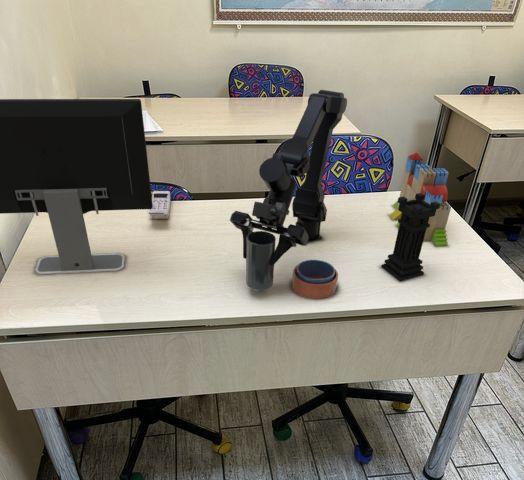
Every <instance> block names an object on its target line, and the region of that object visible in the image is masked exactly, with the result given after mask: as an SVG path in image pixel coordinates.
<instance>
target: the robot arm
mask: <svg viewBox="0 0 524 480" xmlns="http://www.w3.org/2000/svg"><path fill="white" fill-rule="evenodd" d="M347 106H348V99H347V97H345V93H343V92H339V91H334V90H326V89H319V91H318V92H317V93H316V92H312V93H310V94H309V96H308V99H307V106H306V108H305V109H304V111H303V114H302V116H301V119H300V121H299V123H298V125H297V127H296V130H294V134H293V135H292V137H291V138H290V139H288V140H287V141H285V142H284V143H283V144H282V146H281V148H280V149H279V150H278V152H277V153H276V152H275V153H273V154H272V157H270V158H267V159H265V160H264V161H263V162H262V163H261V164H260V166H259V170H258V172H259V176H260V178H261V180H262V181H263V183H264V184H265V186H266V187H267V190H269V191H268V195H267V197H264V199H263V201H262V202H260V201H254V202H253V207H252V213H251V215H250V214H249V213H247V212H243V211H239V210H234V211H233V212H232V213H231V215H230V218H229V221H230V223H231V224H232V225H233V226H234V227H235V228H236V229H238V230H240V232H241V233H242V242H243V243H242V258H243V259H245V260H246V237H247V235H248V234H250V233H252V232H254V229H256V230H259V231H265V232H269V233H271V234H276V235H279V237H278V243H277V244H276V246H275V252H274V255H273V257H272V260H271V263H270V265H271V266H273V265H274V266H275V265H276V264H277V262H278V261H279V260H280V259H281V258H282V257H283V256H284V255H285V254H286V253H287V252H288V251H289V250H291V249H292V247H294V248H297V245H300V246H304V247H307V244H308V243H310V242H314V241H320V240H322V239H323V236H321V235H320V233H321V232H320V231H321V223H323V222H326V220H327V215H328V208H327V206H326V204H325V202H324V201H325V192H324V190H323V187H322V183H323V178H324V175H325V169H326V166H327V165H326V164H327V160H328V155H329V150H330V146H331V141H332V136H333V131H334V129H335V128H336V127H337V125H338V124H340V122H341V121H342V119H343V115H344V113H345V112H346V110H347ZM304 176H305V179H304V182H303V184H301V185H300V186H299V187H298V186H297V183H296V180H295V179H294V178H293V177H295V178H302V177H304ZM294 195H295V196H294ZM291 205H292V208H291V209H292V217H293V218H296V219H297V220H296V221H295V224H292V223H289V224H288V226H287V227H285V226H284V224H285V221H286V218H287V216H289V214H290V206H291ZM251 216H253V217H255V218H256V219H253V218H252V217H251Z"/></svg>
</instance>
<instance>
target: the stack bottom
mask: <svg viewBox="0 0 524 480" xmlns="http://www.w3.org/2000/svg"><path fill="white" fill-rule="evenodd" d="M299 264H300V263H298V264H297V265H296V266H294V268H293V270H292V280H291V281H292V282H291V287H292V290H293V291H294V292H295V293H296V294H298V295H300V296H302V297H303V298H308V299H313V300H319V299H326V298H329V297H331V296H332V295H334V294H335V293H336V290H337V287H338V279H339V273H338V271H337V269H336V268H335V267H334V269H335V277H334V280H333V281H331V282H329V283H326V284H310V283H307V282H304V281H302V280H300V279H299V278H298V277H297V276H296V272H297V266H298V265H299ZM307 276H309V275H307ZM314 277H315V275H314ZM316 277H318V278H316ZM316 277H315V278H316V279H319V277H320V279H321V278H322V277H321V276H316ZM309 278H311V277H309ZM315 278H314V279H315ZM312 279H313V277H312ZM322 279H324V278H322Z"/></svg>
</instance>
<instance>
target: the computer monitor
mask: <svg viewBox="0 0 524 480" xmlns="http://www.w3.org/2000/svg"><path fill="white" fill-rule="evenodd" d="M143 115H144V114H143V107H142V100H141V99H140V98H0V215H1V214H34V213H35V216H36V217H39V213H47V215H48V219H49V223H50V227H51V231H52V234H53V238H54V239H53V240H54V242H55V246H56V250H57V255H47V256H42V257H40V258H39V259H38V262H37V264H36V266H35V269H34V270H35V273H36V274H39V275H54V274H55V275H56V274H76V273H77V274H78V273H79V274H80V273H97V272H99V273H101V272H118V271H121V270H122V269H123V268H124V267H125V259H126V258H125V255H124V254H122V253H98V254H97V253H96V254H94V253H93V254H92V250H91V247H90V242H89V237H88V231H87V226H86V223H85V217H84V214H87V213H89V212H95V214H96V215H99V212H102V211H103V212H104V211H133V210H134V211H135V210H150V209H152V207H153V204H152V186H151V178H150V169H149V160H148V151H147V141H146V132H145V125H144V116H143Z"/></svg>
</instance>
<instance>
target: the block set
mask: <svg viewBox="0 0 524 480" xmlns="http://www.w3.org/2000/svg"><path fill="white" fill-rule="evenodd" d="M423 160H424V159H423V158H422V157H421V155H420V154H419V153H418V152H414V153H412V154H410V155H408V156H407V159H406V163H405V170H404V174H403V180H402V184H401V187H400V193H399V197H405V198H407V201H409V200H414V199H415V195H416V194H418V193H422V194H424V195H425V197H424V200H423V201H425V202H427V203H429V204H430V205H431V202H438V203H440V208H439V209H437V210H436V213H435V216H432V217H430V218H429V222H428V223H429V224H430V227H429V228H427V229H426V233H425V237H424V240H423V242H424V241H431V242H432V243H433V244H434V245H435V246H436V247H443V246H448V244H449V243H448V238H447V236H448V234H447V229H446V228H447V223H448V220H449V217H450V213H451V209H452V206H451V205H450V203H448V198H449V193H448V187H447V181H448V178H449V173H450V172H449V171H448V170H446V168H444V167H441V168H440V167H438V168H436V167H435V168H432V167H431V166H429V164H423ZM415 200H416V199H415ZM393 207H394V209H395V210H394V211H393V212H391V213H390V214H389V217H390V218H391V219H392V221H398V219H401V215H402V212H400V211H399V210H398V208H399V203H398V200H396V201H395V202H394V203H393ZM399 224H400V223H398V222H397V223H396V226H397V227H398V229H399Z"/></svg>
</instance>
